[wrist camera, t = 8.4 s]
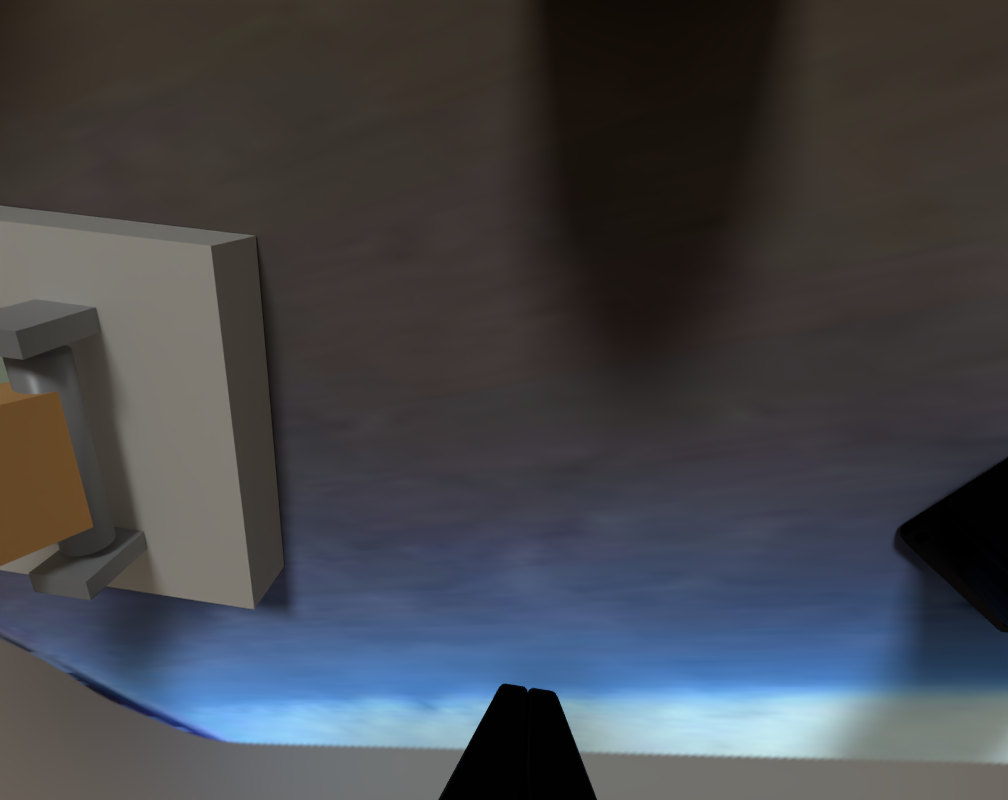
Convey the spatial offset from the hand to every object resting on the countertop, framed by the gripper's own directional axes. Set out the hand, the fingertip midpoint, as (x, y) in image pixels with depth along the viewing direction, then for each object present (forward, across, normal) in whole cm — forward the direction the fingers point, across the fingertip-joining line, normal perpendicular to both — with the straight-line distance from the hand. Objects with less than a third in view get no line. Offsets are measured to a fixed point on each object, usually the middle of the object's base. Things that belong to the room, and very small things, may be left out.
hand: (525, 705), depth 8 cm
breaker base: (+12, +15, +3) cm, 20 cm away
